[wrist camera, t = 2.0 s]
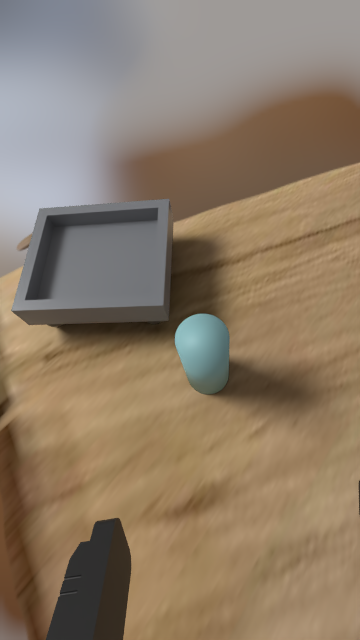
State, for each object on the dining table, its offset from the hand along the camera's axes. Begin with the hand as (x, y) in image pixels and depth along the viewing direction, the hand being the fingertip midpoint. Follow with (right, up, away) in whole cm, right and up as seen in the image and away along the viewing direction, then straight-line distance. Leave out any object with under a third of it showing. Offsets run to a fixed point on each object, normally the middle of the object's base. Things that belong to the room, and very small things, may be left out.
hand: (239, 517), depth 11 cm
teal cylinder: (+1, +1, +25) cm, 25 cm away
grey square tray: (-11, +11, +31) cm, 35 cm away
